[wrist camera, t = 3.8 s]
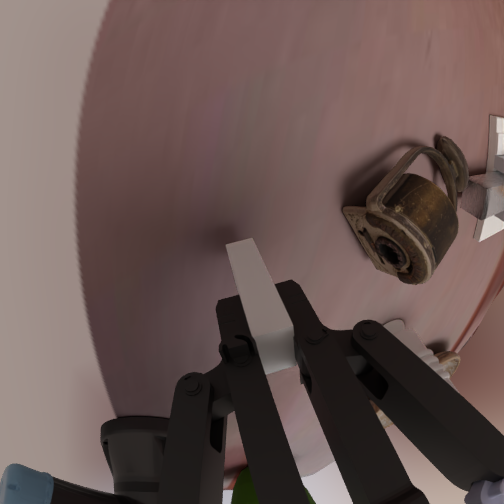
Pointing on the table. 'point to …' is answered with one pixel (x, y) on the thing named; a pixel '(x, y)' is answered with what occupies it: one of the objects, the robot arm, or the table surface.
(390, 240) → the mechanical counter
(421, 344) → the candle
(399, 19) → the table surface
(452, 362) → the ceramic bowl
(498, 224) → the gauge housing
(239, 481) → the vase
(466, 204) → the grey metal bar
